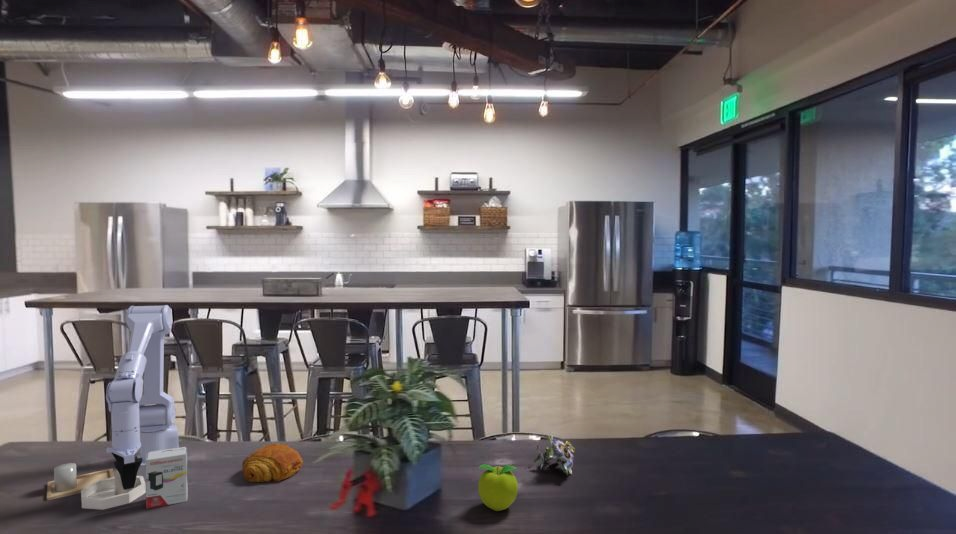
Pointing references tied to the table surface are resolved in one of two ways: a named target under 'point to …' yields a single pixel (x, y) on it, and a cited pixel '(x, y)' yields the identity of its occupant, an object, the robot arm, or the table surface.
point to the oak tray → (79, 483)
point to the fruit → (497, 487)
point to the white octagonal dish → (109, 494)
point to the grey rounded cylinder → (120, 484)
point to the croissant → (271, 463)
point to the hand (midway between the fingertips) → (127, 482)
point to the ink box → (166, 477)
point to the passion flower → (558, 454)
